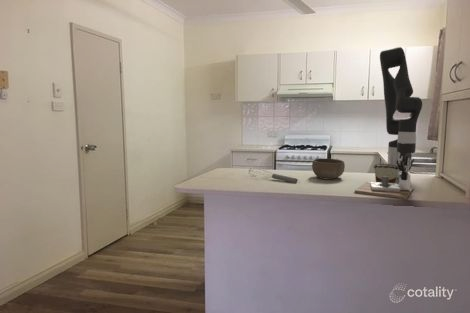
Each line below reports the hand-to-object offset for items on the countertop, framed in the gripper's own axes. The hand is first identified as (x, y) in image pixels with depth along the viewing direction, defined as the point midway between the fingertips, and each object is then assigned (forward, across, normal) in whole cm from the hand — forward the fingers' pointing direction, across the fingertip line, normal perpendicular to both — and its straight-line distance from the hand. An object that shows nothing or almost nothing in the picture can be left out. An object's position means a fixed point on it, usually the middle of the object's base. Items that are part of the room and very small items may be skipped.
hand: (404, 180), depth 163 cm
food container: (+6, -18, -16) cm, 25 cm away
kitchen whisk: (+7, +18, -64) cm, 67 cm away
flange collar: (+5, 0, -7) cm, 8 cm away
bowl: (+6, -9, -46) cm, 47 cm away
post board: (+6, +1, -8) cm, 11 cm away
